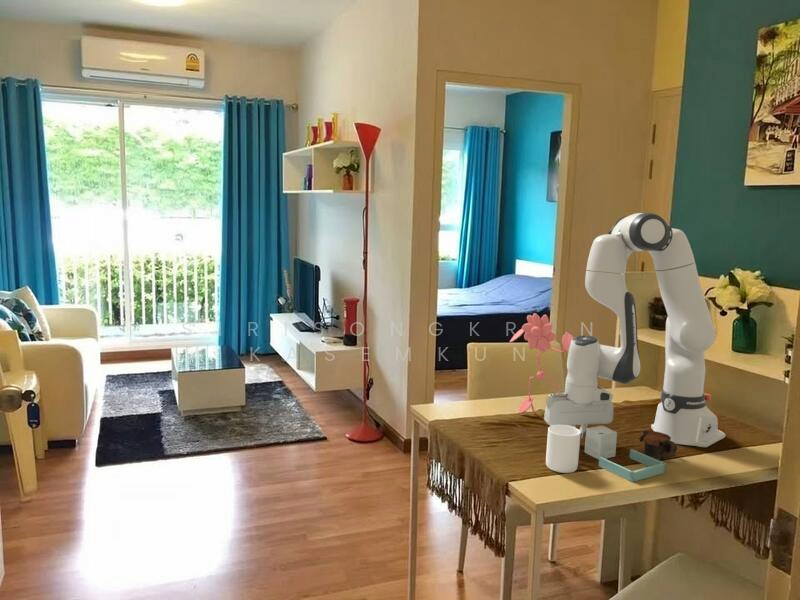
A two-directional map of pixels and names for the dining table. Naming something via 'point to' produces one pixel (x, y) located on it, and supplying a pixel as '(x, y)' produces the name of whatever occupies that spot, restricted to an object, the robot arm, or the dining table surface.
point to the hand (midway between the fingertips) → (576, 438)
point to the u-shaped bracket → (652, 470)
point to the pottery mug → (657, 445)
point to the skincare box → (600, 442)
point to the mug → (562, 448)
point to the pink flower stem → (539, 347)
